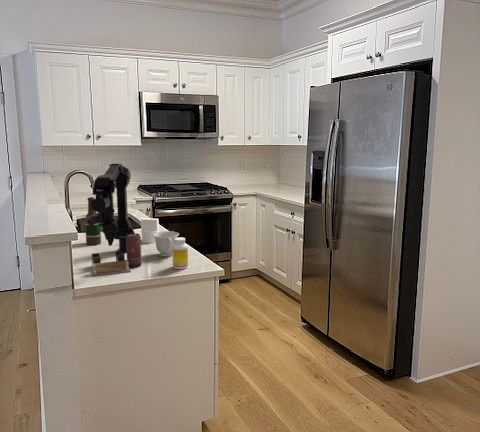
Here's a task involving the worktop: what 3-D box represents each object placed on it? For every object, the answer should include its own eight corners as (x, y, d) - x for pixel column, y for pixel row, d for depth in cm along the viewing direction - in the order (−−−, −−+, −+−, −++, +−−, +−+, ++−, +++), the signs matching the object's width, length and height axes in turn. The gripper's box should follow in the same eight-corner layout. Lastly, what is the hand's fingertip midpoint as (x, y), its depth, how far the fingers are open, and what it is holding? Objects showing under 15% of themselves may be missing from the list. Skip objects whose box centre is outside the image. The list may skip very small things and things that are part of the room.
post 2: (116, 263, 198) (115, 251, 197) (122, 262, 199) (122, 250, 198) (118, 267, 192) (117, 255, 191) (125, 266, 194) (124, 254, 192)
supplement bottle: (189, 269, 191) (188, 240, 188) (173, 270, 189) (173, 241, 186) (186, 264, 197) (186, 236, 194) (171, 265, 195) (170, 237, 193)
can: (142, 263, 198) (141, 232, 195) (139, 267, 192) (138, 236, 189) (129, 263, 198) (128, 232, 195) (125, 267, 191) (124, 236, 189)
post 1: (92, 265, 194) (91, 253, 193) (99, 265, 195) (98, 253, 194) (93, 270, 188) (93, 257, 187) (101, 269, 190) (100, 256, 188)
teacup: (157, 261, 201) (157, 240, 199) (151, 252, 214) (150, 232, 212) (183, 258, 205) (183, 237, 203) (175, 249, 219) (175, 230, 217)
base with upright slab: (161, 239, 238) (160, 217, 236) (156, 243, 229) (155, 221, 227) (144, 238, 239) (143, 216, 236) (139, 243, 230) (138, 220, 228)
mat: (91, 271, 186) (91, 270, 186) (128, 267, 192) (128, 266, 192) (93, 276, 181) (93, 275, 181) (130, 271, 187) (130, 270, 186)
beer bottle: (89, 246, 223) (86, 199, 218) (83, 243, 229) (80, 197, 224) (104, 243, 228) (101, 197, 223) (97, 240, 234) (95, 195, 229)
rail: (92, 271, 185) (92, 263, 184) (127, 267, 191) (127, 259, 190) (93, 273, 182) (93, 266, 181) (128, 269, 188) (128, 262, 187)
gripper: (84, 203, 190) (86, 238, 194) (88, 213, 173) (91, 251, 177) (110, 201, 194) (112, 236, 198) (117, 210, 178) (119, 248, 181)
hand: (108, 242), depth 189 cm, fingers open, 9 cm apart
